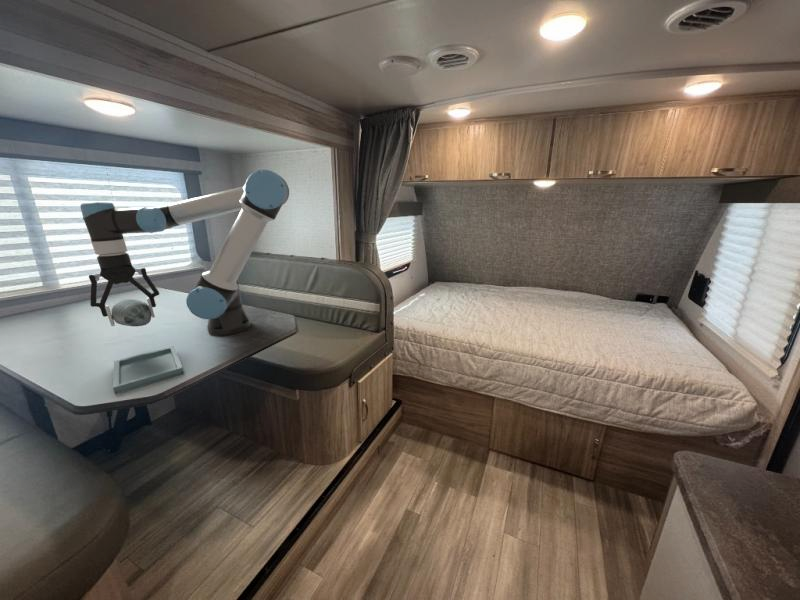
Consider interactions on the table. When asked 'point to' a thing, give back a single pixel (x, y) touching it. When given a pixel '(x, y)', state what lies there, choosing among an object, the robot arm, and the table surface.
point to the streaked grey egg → (131, 313)
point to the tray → (146, 369)
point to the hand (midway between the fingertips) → (133, 320)
